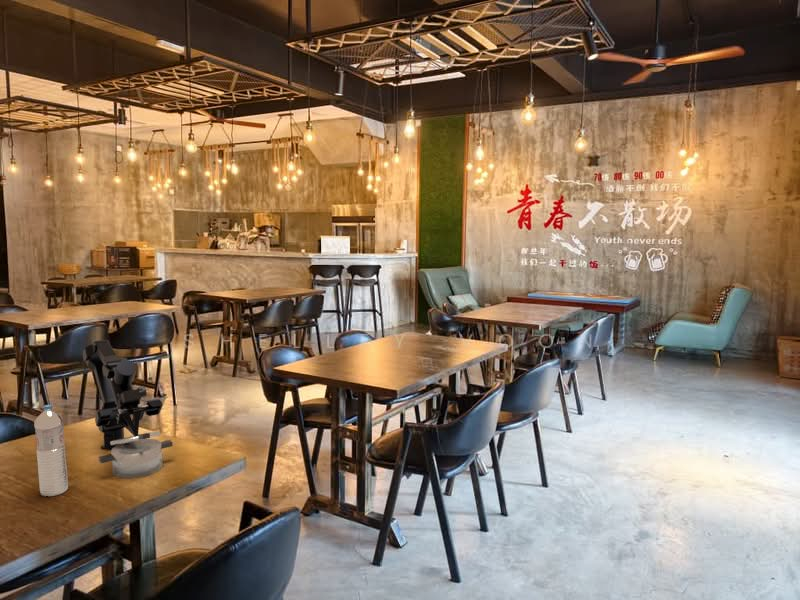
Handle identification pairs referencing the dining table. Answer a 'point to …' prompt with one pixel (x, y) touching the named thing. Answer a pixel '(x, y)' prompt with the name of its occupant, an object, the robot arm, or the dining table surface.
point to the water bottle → (51, 453)
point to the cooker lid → (135, 438)
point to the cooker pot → (136, 458)
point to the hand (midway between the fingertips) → (136, 435)
